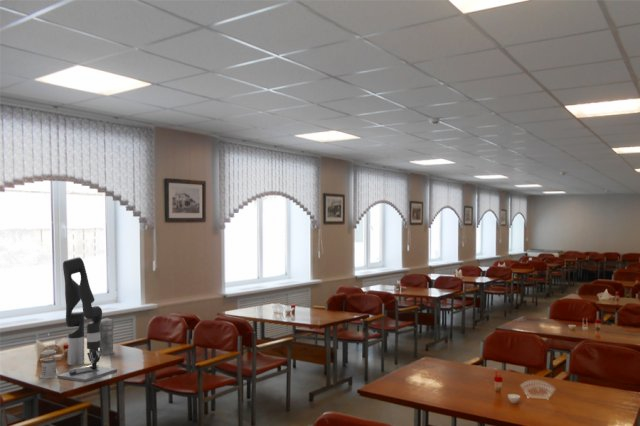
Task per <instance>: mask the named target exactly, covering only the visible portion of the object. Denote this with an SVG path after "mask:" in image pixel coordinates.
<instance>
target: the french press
mask: <svg viewBox="0 0 640 426" xmlns="http://www.w3.org/2000/svg"><path fill="white" fill-rule="evenodd" d="M46 336H48V337H50V336H51V333H49V332H48V333H47V335H46ZM56 353H57V350H54V349H50V348H48V349H46V350H44V351H42V352H41V353H40V354H41V355H42V356H45V357H44V358H43V359H41V364H40V365H41V366H40V367H41V374H40V376H39V378H40V379H48V378H53V377H54V378H55V377H57V375H59V373H57V360H56V357H48V356H50V355H54V354H56Z"/></svg>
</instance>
